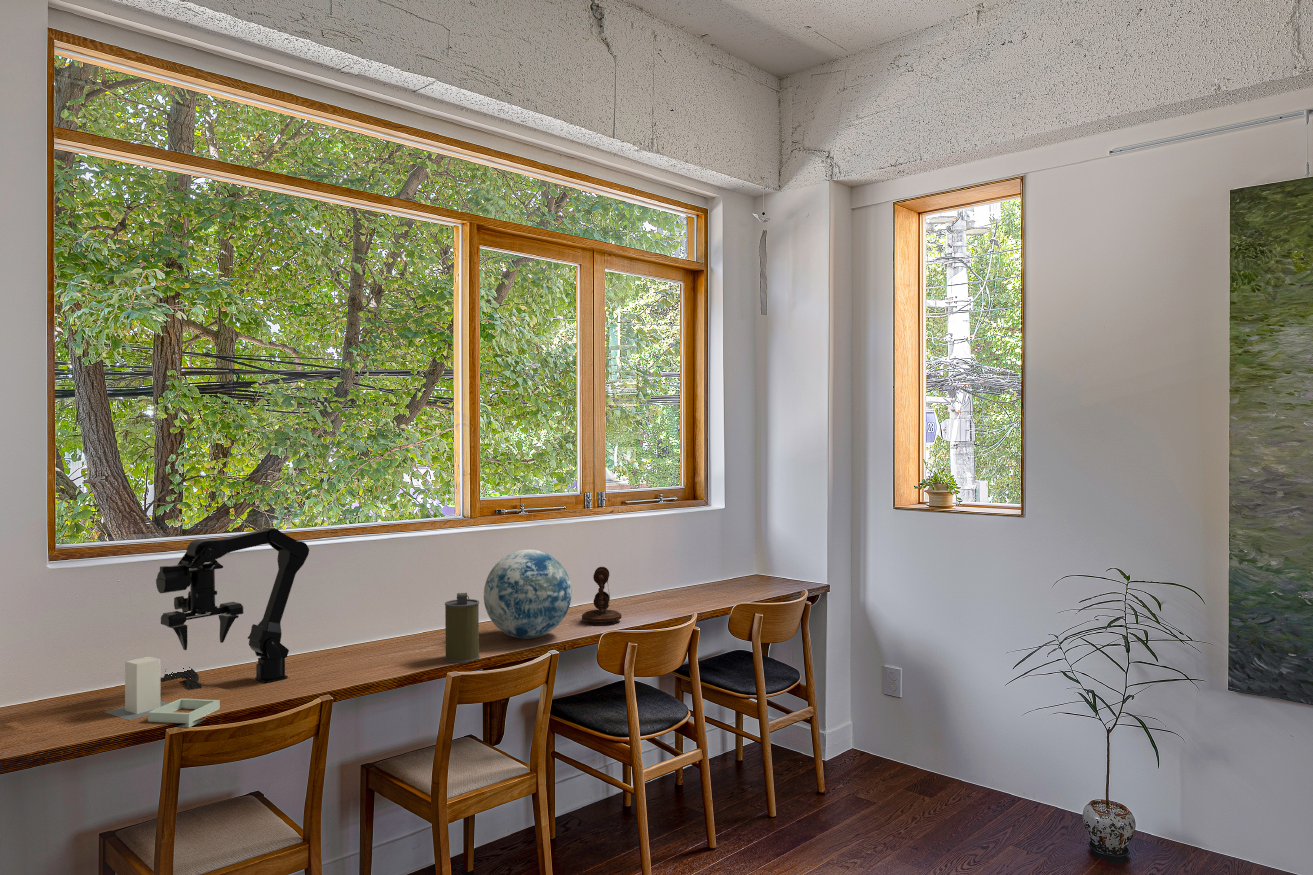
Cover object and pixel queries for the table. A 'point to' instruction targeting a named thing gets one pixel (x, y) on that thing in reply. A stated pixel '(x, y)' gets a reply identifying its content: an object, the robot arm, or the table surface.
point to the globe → (527, 594)
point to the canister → (462, 629)
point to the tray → (170, 716)
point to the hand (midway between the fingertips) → (203, 646)
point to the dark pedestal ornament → (601, 601)
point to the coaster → (129, 715)
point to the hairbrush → (186, 675)
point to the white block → (142, 684)
